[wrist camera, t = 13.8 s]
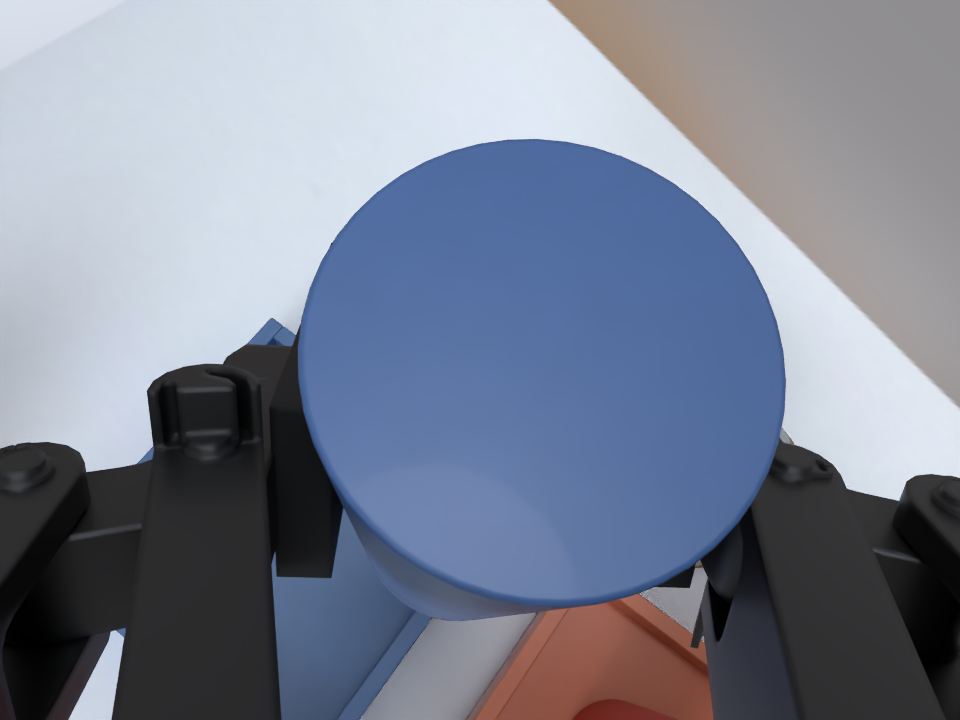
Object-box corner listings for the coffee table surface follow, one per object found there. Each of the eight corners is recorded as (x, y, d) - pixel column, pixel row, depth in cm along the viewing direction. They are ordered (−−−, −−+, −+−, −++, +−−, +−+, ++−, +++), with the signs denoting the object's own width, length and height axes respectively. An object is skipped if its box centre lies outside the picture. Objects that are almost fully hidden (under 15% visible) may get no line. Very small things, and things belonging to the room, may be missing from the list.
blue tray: (509, 509, 36) (516, 500, 33) (315, 779, 32) (307, 791, 29) (280, 336, 37) (271, 316, 35) (67, 572, 33) (40, 567, 31)
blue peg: (588, 502, 19) (871, 311, 7) (479, 662, 17) (622, 727, 6) (440, 393, 19) (492, 59, 8) (323, 540, 18) (187, 391, 7)
